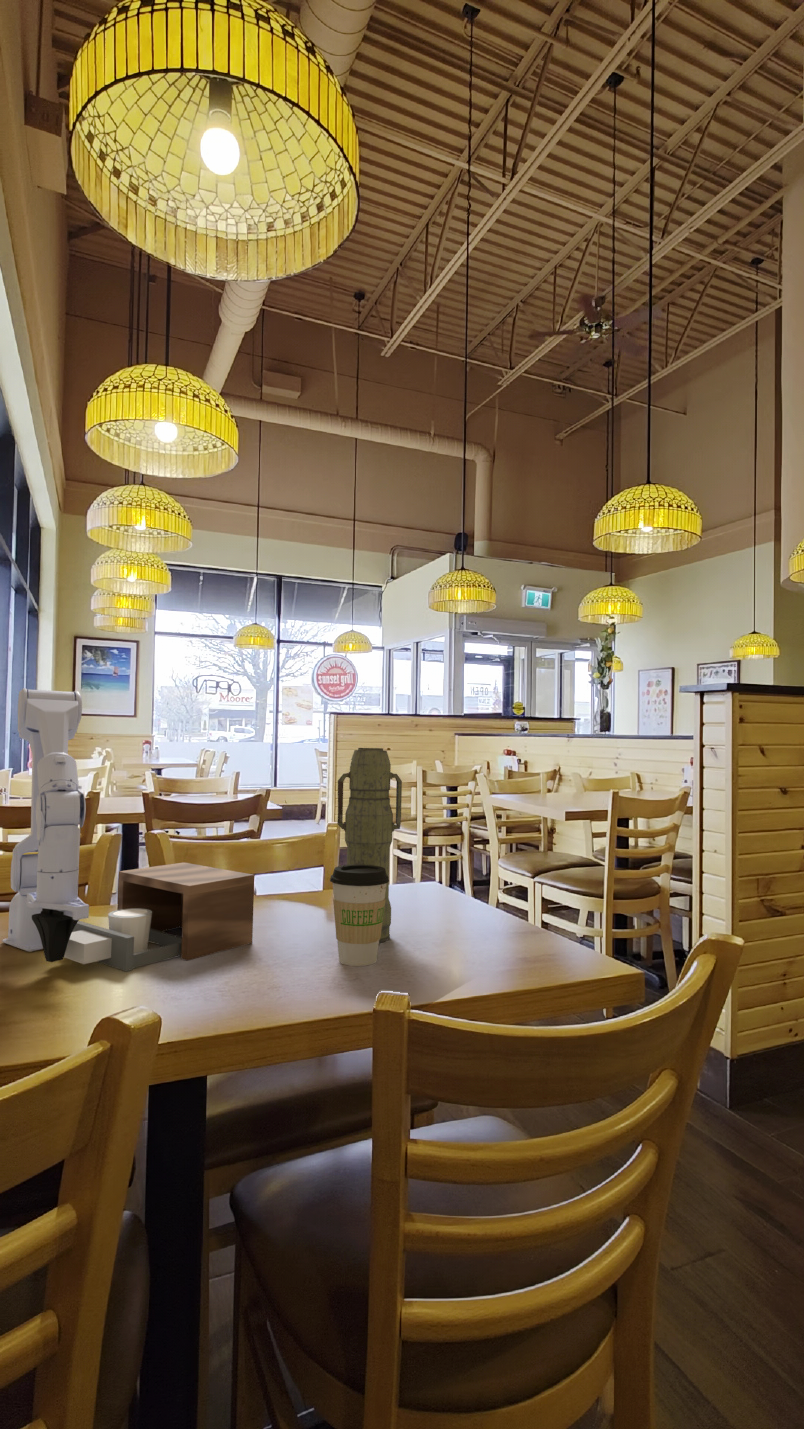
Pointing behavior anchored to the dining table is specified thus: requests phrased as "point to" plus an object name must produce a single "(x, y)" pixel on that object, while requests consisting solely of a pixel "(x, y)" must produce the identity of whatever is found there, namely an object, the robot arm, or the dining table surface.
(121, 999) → the dining table surface
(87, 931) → the shelf tray
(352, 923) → the coffee cup
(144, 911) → the white cup
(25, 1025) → the dining table surface
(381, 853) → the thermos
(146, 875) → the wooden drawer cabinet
